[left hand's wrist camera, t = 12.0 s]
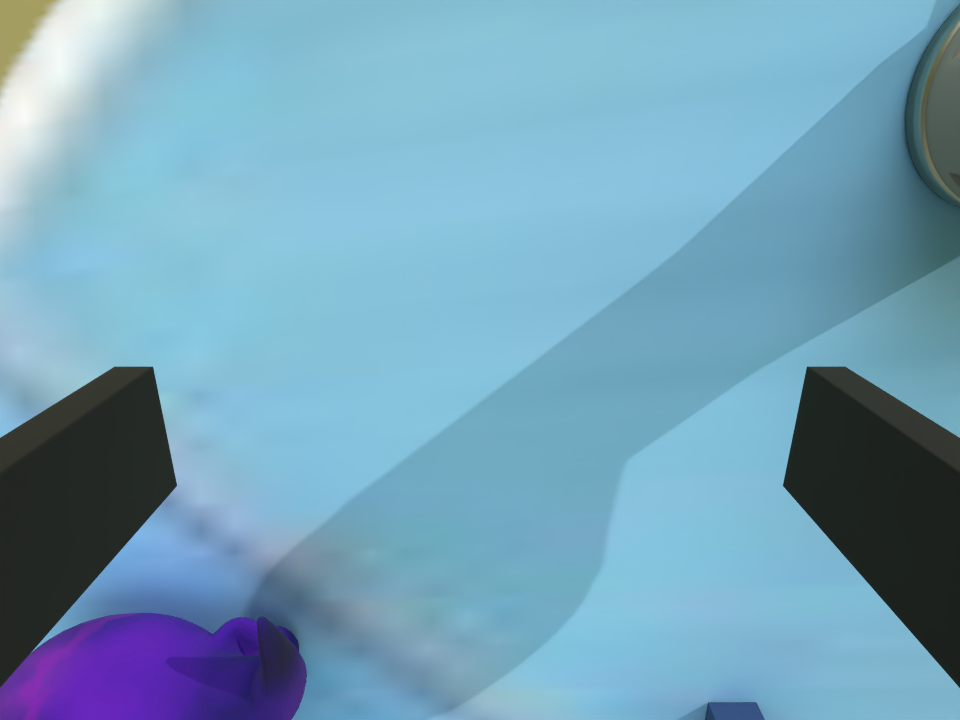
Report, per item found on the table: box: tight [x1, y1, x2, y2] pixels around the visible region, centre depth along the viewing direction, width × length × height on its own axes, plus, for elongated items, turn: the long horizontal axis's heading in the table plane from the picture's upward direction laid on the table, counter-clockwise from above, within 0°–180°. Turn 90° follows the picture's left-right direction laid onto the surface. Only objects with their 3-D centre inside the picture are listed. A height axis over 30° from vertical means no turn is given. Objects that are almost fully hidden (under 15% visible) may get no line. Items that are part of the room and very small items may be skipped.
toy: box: [0, 613, 307, 720], centre depth 46 cm, size 16×18×27 cm
